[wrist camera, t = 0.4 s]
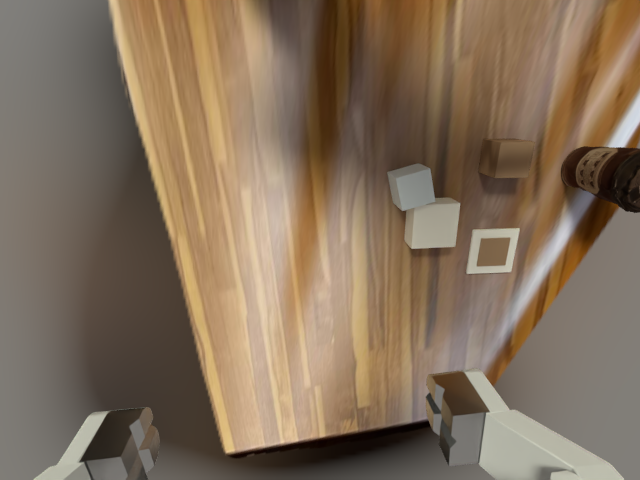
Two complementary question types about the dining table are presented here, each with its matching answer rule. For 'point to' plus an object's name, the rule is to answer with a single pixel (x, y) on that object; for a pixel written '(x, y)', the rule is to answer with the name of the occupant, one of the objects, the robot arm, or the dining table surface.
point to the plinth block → (432, 224)
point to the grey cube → (411, 186)
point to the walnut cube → (506, 158)
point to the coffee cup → (606, 174)
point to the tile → (492, 250)
